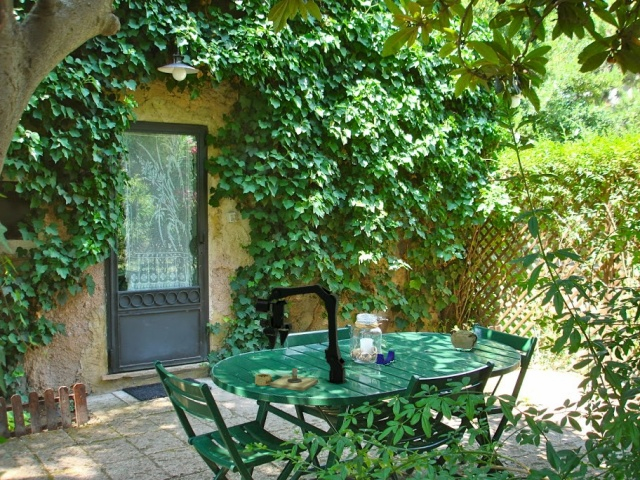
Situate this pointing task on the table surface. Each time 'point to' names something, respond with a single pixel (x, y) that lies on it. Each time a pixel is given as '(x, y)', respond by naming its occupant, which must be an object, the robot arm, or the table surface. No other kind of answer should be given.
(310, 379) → the stand
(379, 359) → the cable clip
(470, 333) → the sugar bowl
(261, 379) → the ring
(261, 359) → the table surface
